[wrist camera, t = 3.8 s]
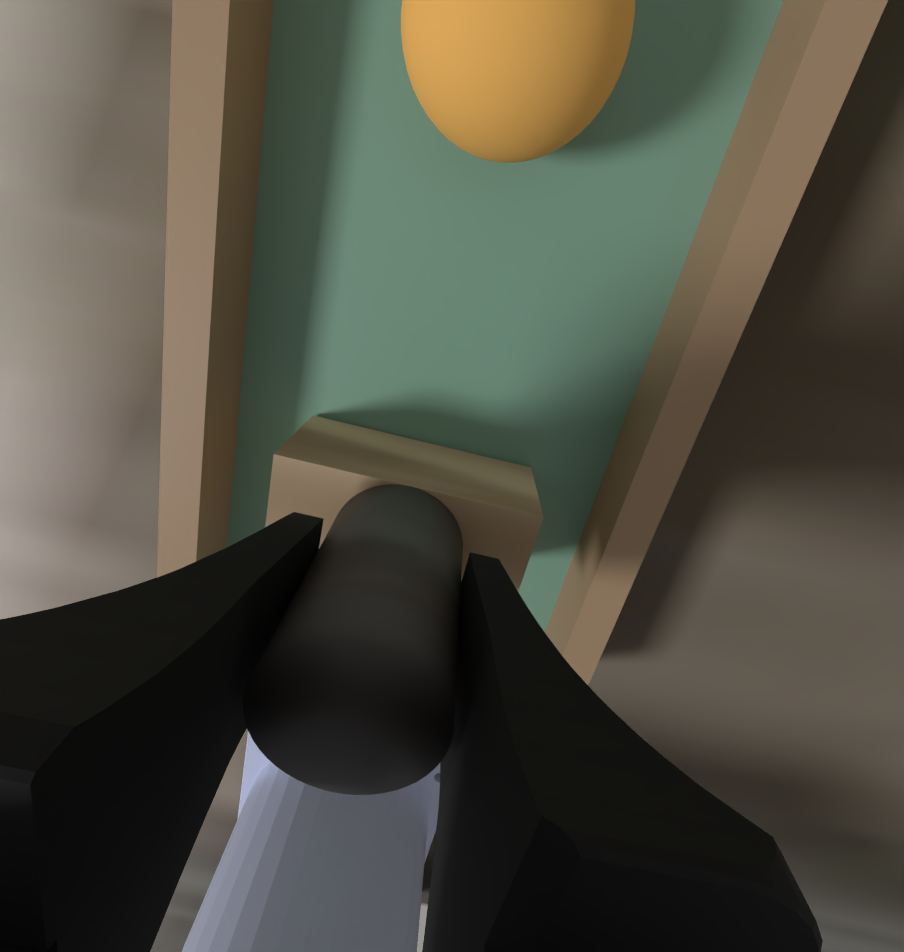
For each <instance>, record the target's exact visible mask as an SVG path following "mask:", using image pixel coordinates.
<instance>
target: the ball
mask: <svg viewBox="0 0 904 952" xmlns="http://www.w3.org/2000/svg"><path fill="white" fill-rule="evenodd" d="M634 15H635V0H402V7H401V37H402V47H403V54H404V58H405V63H406V68H407V72H408V75H409V78H410V81H411V84H412V87H413V90H414V92H415V94H416V96H417V98H418V100H419V103H420V104H421V106H422V108H423V109H424V111H425V112H426V114H427V116H428V117H429V119H430V120H431V121H432V122H433V124H434V125H435V126H436V127H437V129H438V130H439V131H440V132H441V133H442V134H443V135H444V136H445V137H446V138H447V139H448V140H449V141H451V142H452V143H453V144H455V145H456V146H458V147H459V148H460V149H462V150H464V151H466V152H468V153H470V154H471V155H473V156H476V157H479V158H482V159H485V160H489V161H495V162H503V163H515V162H524V161H529V160H533V159H537V158H540V157H542V156H545V155H547V154H549V153H552V152H554V151H555V150H557V149H559V148H560V147H562V146H564V145H565V144H567V143H568V142H569V141H571V140H572V139H573V138H575V137H576V136H577V135H578V134H580V133H581V132H582V131H583V130H584V129H585V128H586V127H587V126H588V125H589V124H590V123H591V122H592V120H593V119H594V118H595V116H596V115H597V114H598V113H599V111H600V110H601V109H602V107H603V106H604V104H605V102H606V101H607V99H608V97H609V96H610V94H611V92H612V91H613V89H614V87H615V84H616V82H617V80H618V78H619V76H620V74H621V71H622V69H623V66H624V63H625V60H626V57H627V54H628V49H629V45H630V41H631V36H632V30H633V23H634Z"/></svg>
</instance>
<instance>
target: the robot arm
mask: <svg viewBox="0 0 904 952" xmlns="http://www.w3.org/2000/svg"><path fill="white" fill-rule="evenodd" d="M323 520H324V519H323V518H319V517H315V516H310V515H306V514H302V513H297V512H293V513H291V514H289V515H287V516H285V517H283V518H281V519H279V520H278V521H276V522H274V523H272V524H270V525H269V526H267V527H265V528H263V529H261V530H259V531H258V532H256V533H254V534H252V535H250V536H248V537H246V538H244V539H242V540H240V541H238V542H237V543H235V544H233V545H231V546H229V547H227V548H225V549H222V550H220V551H218V552H216V553H214V554H211V555H209V556H207V557H205V558H203V559H200V560H198V561H196V562H194V563H192V564H189V565H187V566H185V567H183V568H180V569H178V570H175V571H173V572H170V573H168V574H165V575H163V576H160V577H157V578H154V579H152V580H149V581H146V582H143V583H140V584H137V585H134V586H131V587H128V588H125V589H122V590H119V591H116V592H112V593H108V594H105V595H101V596H97V597H94V598H90V599H86V600H83V601H79V602H76V603H72V604H68V605H65V606H61V607H57V608H53V609H49V610H44V611H40V612H35V613H31V614H26V615H21V616H17V617H12V618H7V619H1V620H0V952H150V950H151V948H152V945H153V943H154V940H155V938H156V935H157V933H158V931H159V928H160V926H161V923H162V921H163V918H164V916H165V913H166V911H167V908H168V906H169V903H170V901H171V898H172V896H173V894H174V891H175V889H176V886H177V884H178V881H179V879H180V876H181V874H182V872H183V869H184V867H185V864H186V862H187V860H188V857H189V855H190V853H191V850H192V848H193V845H194V843H195V841H196V838H197V836H198V833H199V831H200V829H201V826H202V824H203V822H204V819H205V817H206V814H207V812H208V810H209V808H210V805H211V803H212V801H213V798H214V796H215V794H216V791H217V789H218V787H219V785H220V782H221V780H222V778H223V775H224V773H225V771H226V768H227V766H228V764H229V762H230V760H231V758H232V756H233V754H234V752H235V750H236V748H237V746H238V744H239V742H240V740H241V738H242V736H243V734H244V732H245V730H246V729H247V726H246V723H245V720H244V713H243V697H244V692H245V688H246V686H247V683H248V681H249V678H250V676H251V674H252V673H253V671H254V669H255V667H256V665H257V663H258V661H259V660H260V658H261V656H262V654H263V652H264V650H265V648H266V647H267V645H268V643H269V641H270V639H271V637H272V635H273V634H274V632H275V630H276V628H277V626H278V624H279V622H280V621H281V619H282V617H283V615H284V613H285V611H286V609H287V608H288V606H289V604H290V602H291V600H292V598H293V596H294V595H295V593H296V591H297V589H298V587H299V585H300V583H301V582H302V580H303V578H304V576H305V574H306V572H307V570H308V569H309V567H310V565H311V563H312V561H313V559H314V557H315V556H316V554H317V552H318V550H319V545H320V538H321V532H322V526H323ZM435 832H436V837H435V846H434V856H433V865H432V874H431V883H430V892H429V900H428V909H427V918H426V927H425V935H424V943H423V951H422V952H821V947H822V938H821V935H820V931H819V928H818V925H817V922H816V920H815V918H814V916H813V914H812V912H811V910H810V908H809V906H808V904H807V902H806V900H805V898H804V896H803V894H802V892H801V890H800V888H799V886H798V884H797V882H796V880H795V878H794V876H793V875H792V873H791V871H790V869H789V867H788V865H787V863H786V861H785V859H784V857H783V855H782V853H781V851H780V849H779V847H778V846H777V844H776V842H775V840H774V838H773V837H772V836H770V835H769V834H768V833H766V832H765V831H763V830H762V829H760V828H759V827H758V826H756V825H755V824H753V823H752V822H750V821H749V820H748V819H746V818H745V817H743V816H742V815H741V814H739V813H738V812H736V811H735V810H733V809H732V808H731V807H729V806H728V805H726V804H725V803H723V802H722V801H721V800H719V799H718V798H716V797H715V796H713V795H712V794H711V793H709V792H708V791H706V790H705V789H704V788H702V787H701V786H700V785H698V784H697V783H696V782H694V781H693V780H692V779H691V778H689V777H688V776H687V775H686V774H684V773H683V772H682V771H681V770H679V769H678V768H677V767H676V766H674V765H673V764H672V763H671V762H669V761H668V760H667V759H666V758H664V757H663V756H662V755H661V754H660V753H658V752H657V751H656V750H655V749H654V748H653V747H651V746H650V745H649V744H648V743H647V742H646V741H644V740H643V739H642V738H641V737H640V736H639V735H638V734H637V733H635V732H634V731H633V730H632V729H631V728H630V727H629V726H628V725H627V724H626V723H625V722H624V721H623V720H622V719H621V718H619V717H618V716H617V715H616V714H615V713H614V712H613V711H612V710H611V709H610V708H609V707H608V706H607V705H606V704H605V703H604V702H603V701H602V700H601V699H600V698H599V697H598V696H597V695H596V694H595V693H594V692H593V690H592V689H591V688H590V687H589V686H588V685H587V684H586V683H585V682H584V680H583V679H582V678H581V677H580V676H579V675H578V674H577V673H576V672H575V671H574V669H573V668H572V667H571V666H570V665H569V663H568V662H567V661H566V660H565V659H564V657H563V656H562V655H561V653H560V652H559V651H558V650H557V648H556V647H555V646H554V644H553V643H552V642H551V640H550V639H549V638H548V636H547V635H546V634H545V632H544V631H543V629H542V628H541V626H540V625H539V624H538V622H537V621H536V619H535V618H534V616H533V615H532V613H531V612H530V610H529V609H528V607H527V605H526V604H525V602H524V601H523V599H522V597H521V596H520V594H519V592H518V591H517V589H516V587H515V586H514V584H513V582H512V580H511V579H510V577H509V575H508V574H507V572H506V570H505V568H504V567H503V565H502V563H501V562H500V560H499V559H497V558H493V557H489V556H484V555H480V554H476V553H471V552H470V554H469V557H468V561H467V564H466V568H465V571H464V574H463V578H462V581H461V594H460V614H459V634H458V653H457V673H456V693H455V713H454V732H453V737H452V741H451V744H450V747H449V749H448V752H447V753H446V755H445V756H444V758H443V760H442V761H441V762H440V763H439V765H438V766H437V767H436V768H435V769H434V770H433V771H432V772H430V773H429V774H428V775H427V776H425V777H424V778H422V779H421V780H419V781H417V782H416V783H413V784H411V785H409V786H407V787H404V788H401V789H399V790H396V791H391V792H387V793H382V794H373V795H349V794H341V793H334V792H330V791H326V790H322V789H318V788H316V787H313V786H310V785H307V784H305V783H303V782H301V781H299V780H296V779H295V778H293V777H291V776H289V775H288V774H286V773H285V772H283V771H282V770H280V769H279V768H278V767H276V766H275V765H274V764H273V763H272V762H271V761H270V760H268V759H267V758H266V757H265V755H264V754H263V753H262V752H261V751H260V750H259V748H258V747H257V746H256V744H255V743H254V741H253V740H252V738H251V735H250V733H249V731H248V737H247V745H246V754H245V762H244V770H243V778H242V787H241V795H240V803H239V811H238V820H237V823H236V825H235V827H234V830H233V832H232V834H231V837H230V839H229V841H228V844H227V846H226V848H225V851H224V853H223V856H222V858H221V860H220V863H219V865H218V867H217V870H216V872H215V874H214V877H213V879H212V881H211V884H210V886H209V889H208V891H207V893H206V896H205V898H204V900H203V903H202V905H201V907H200V910H199V912H198V914H197V917H196V919H195V921H194V924H193V926H192V929H191V931H190V933H189V936H188V938H187V940H186V943H185V945H184V947H183V950H182V952H417V942H418V930H419V918H420V907H421V896H422V885H423V873H424V864H425V861H426V858H427V855H428V852H429V849H430V846H431V843H432V840H433V837H434V834H435Z"/></svg>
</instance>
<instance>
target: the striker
mask: <svg viewBox="0 0 904 952" xmlns="http://www.w3.org/2000/svg"><path fill="white" fill-rule="evenodd" d="M293 512H297V513H302V514H306V515H310V516H315V517H319V518H323V519H324V520H323V526H322V532H321V538H320V545H319V550H318V552H317V554H316V556H315V557H314V559H313V561H312V563H311V565H310V567H309V569H308V570H307V572H306V574H305V576H304V578H303V580H302V582H301V583H300V585H299V587H298V589H297V591H296V593H295V595H294V596H293V598H292V600H291V602H290V604H289V606H288V608H287V609H286V611H285V613H284V615H283V617H282V619H281V621H280V622H279V624H278V626H277V628H276V630H275V632H274V634H273V635H272V637H271V639H270V641H269V643H268V645H267V647H266V648H265V650H264V652H263V654H262V656H261V658H260V660H259V661H258V663H257V665H256V667H255V669H254V671H253V673H252V674H251V676H250V678H249V681H248V683H247V686H246V688H245V692H244V697H243V713H244V720H245V723H246V726H247V729H248V731H249V733H250V735H251V738H252V740H253V741H254V743H255V744H256V746H257V747H258V748H259V750H260V751H261V752H262V753H263V754H264V755H265V757H266V758H267V759H268V760H270V761H271V762H272V763H273V764H274V765H275V766H276V767H278V768H279V769H280V770H282V771H283V772H285V773H286V774H288V775H289V776H291V777H293V778H295V779H296V780H299V781H301V782H303V783H305V784H307V785H310V786H313V787H316V788H318V789H322V790H326V791H330V792H334V793H341V794H349V795H373V794H382V793H387V792H391V791H396V790H399V789H401V788H404V787H407V786H409V785H411V784H413V783H416V782H417V781H419V780H421V779H422V778H424V777H425V776H427V775H428V774H429V773H430V772H432V771H433V770H434V769H435V768H436V767H437V766H438V765H439V763H440V762H441V761H442V760H443V758H444V756H445V755H446V753H447V752H448V749H449V747H450V744H451V741H452V737H453V732H454V713H455V693H456V673H457V653H458V634H459V614H460V594H461V581H462V578H463V574H464V571H465V568H466V564H467V561H468V557H469V554H470V552H471V553H476V554H480V555H484V556H489V557H493V558H497V559H499V560H500V562H501V563H502V565H503V567H504V568H505V570H506V572H507V574H508V575H509V577H510V579H511V580H512V582H513V584H514V586H515V587H516V589H517V591H519V588H520V585H521V583H522V580H523V577H524V574H525V571H526V568H527V565H528V562H529V559H530V556H531V553H532V550H533V547H534V544H535V542H536V539H537V536H538V533H539V530H540V527H541V524H542V521H543V518H544V517H543V513H542V509H541V505H540V501H539V497H538V493H537V489H536V485H535V481H534V477H533V473H532V469H531V467H527V466H523V465H519V464H514V463H510V462H506V461H502V460H498V459H494V458H489V457H485V456H481V455H477V454H473V453H468V452H464V451H460V450H456V449H452V448H448V447H443V446H439V445H435V444H431V443H427V442H422V441H418V440H414V439H410V438H406V437H402V436H397V435H393V434H389V433H385V432H381V431H376V430H372V429H368V428H364V427H360V426H356V425H351V424H347V423H343V422H339V421H335V420H330V419H326V418H322V417H318V416H314V415H313V416H312V417H311V418H310V419H309V420H308V421H307V422H306V423H305V424H304V425H303V426H302V427H301V428H300V429H299V430H298V431H297V432H296V433H295V434H294V435H293V436H292V437H291V438H290V439H289V440H287V441H286V442H285V443H284V444H283V445H282V446H281V447H280V448H279V449H278V450H277V451H276V452H275V453H274V455H273V464H272V472H271V481H270V490H269V498H268V507H267V516H266V524H265V527H267V526H269V525H270V524H272V523H274V522H276V521H278V520H279V519H281V518H283V517H285V516H287V515H289V514H291V513H293Z"/></svg>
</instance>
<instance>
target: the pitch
mask: <svg viewBox="0 0 904 952" xmlns="http://www.w3.org/2000/svg"><path fill="white" fill-rule="evenodd" d="M887 1H888V0H635V15H634V23H633V30H632V36H631V41H630V45H629V49H628V54H627V57H626V60H625V63H624V66H623V69H622V71H621V74H620V76H619V78H618V80H617V82H616V84H615V87H614V89H613V91H612V92H611V94H610V96H609V97H608V99H607V101H606V102H605V104H604V106H603V107H602V109H601V110H600V111H599V113H598V114H597V115H596V116H595V118H594V119H593V120H592V122H591V123H590V124H589V125H588V126H587V127H586V128H585V129H584V130H583V131H582V132H581V133H580V134H578V135H577V136H576V137H575V138H573V139H572V140H571V141H569V142H568V143H567V144H565V145H564V146H562V147H560V148H559V149H557V150H555V151H554V152H552V153H549V154H547V155H545V156H542V157H540V158H537V159H533V160H529V161H524V162H515V163H503V162H495V161H489V160H485V159H482V158H479V157H476V156H473V155H471V154H470V153H468V152H466V151H464V150H462V149H460V148H459V147H458V146H456V145H455V144H453V143H452V142H451V141H449V140H448V139H447V138H446V137H445V136H444V135H443V134H442V133H441V132H440V131H439V130H438V129H437V127H436V126H435V125H434V124H433V122H432V121H431V120H430V119H429V117H428V116H427V114H426V112H425V111H424V109H423V108H422V106H421V104H420V103H419V100H418V98H417V96H416V94H415V92H414V90H413V87H412V84H411V81H410V78H409V75H408V72H407V68H406V63H405V58H404V54H403V47H402V37H401V7H402V0H173V6H172V43H171V79H170V116H169V153H168V190H167V227H166V264H165V300H164V337H163V374H162V411H161V448H160V485H159V521H158V558H157V577H160V576H163V575H165V574H168V573H170V572H173V571H175V570H178V569H180V568H183V567H185V566H187V565H189V564H192V563H194V562H196V561H198V560H200V559H203V558H205V557H207V556H209V555H211V554H214V553H216V552H218V551H220V550H222V549H225V548H227V547H229V546H231V545H233V544H235V543H237V542H238V541H240V540H242V539H244V538H246V537H248V536H250V535H252V534H254V533H256V532H258V531H259V530H261V529H263V528H265V524H266V516H267V507H268V498H269V490H270V481H271V472H272V464H273V455H274V453H275V452H276V451H277V450H278V449H279V448H280V447H281V446H282V445H283V444H284V443H285V442H286V441H287V440H289V439H290V438H291V437H292V436H293V435H294V434H295V433H296V432H297V431H298V430H299V429H300V428H301V427H302V426H303V425H304V424H305V423H306V422H307V421H308V420H309V419H310V418H311V417H312V416H313V415H314V416H318V417H322V418H326V419H330V420H335V421H339V422H343V423H347V424H351V425H356V426H360V427H364V428H368V429H372V430H376V431H381V432H385V433H389V434H393V435H397V436H402V437H406V438H410V439H414V440H418V441H422V442H427V443H431V444H435V445H439V446H443V447H448V448H452V449H456V450H460V451H464V452H468V453H473V454H477V455H481V456H485V457H489V458H494V459H498V460H502V461H506V462H510V463H514V464H519V465H523V466H527V467H531V469H532V473H533V477H534V481H535V485H536V489H537V493H538V497H539V501H540V505H541V509H542V513H543V517H544V518H543V521H542V524H541V527H540V530H539V533H538V536H537V539H536V542H535V544H534V547H533V550H532V553H531V556H530V559H529V562H528V565H527V568H526V571H525V574H524V577H523V580H522V583H521V585H520V588H519V591H518V592H519V594H520V596H521V597H522V599H523V601H524V602H525V604H526V605H527V607H528V609H529V610H530V612H531V613H532V615H533V616H534V618H535V619H536V621H537V622H538V624H539V625H540V626H541V628H542V629H543V631H544V632H545V634H546V635H547V636H548V638H549V639H550V640H551V642H552V643H553V644H554V646H555V647H556V648H557V650H558V651H559V652H560V653H561V655H562V656H563V657H564V659H565V660H566V661H567V662H568V663H569V665H570V666H571V667H572V668H573V669H574V671H575V672H576V673H577V674H578V675H579V676H580V677H581V678H582V679H583V680H584V682H585V683H586V684H587V685H589V683H590V680H591V678H592V676H593V674H594V671H595V669H596V667H597V664H598V662H599V660H600V658H601V655H602V653H603V651H604V648H605V646H606V644H607V642H608V639H609V637H610V635H611V632H612V630H613V628H614V626H615V623H616V621H617V619H618V616H619V614H620V612H621V610H622V607H623V605H624V603H625V600H626V598H627V596H628V593H629V591H630V589H631V587H632V584H633V582H634V580H635V577H636V575H637V573H638V571H639V568H640V566H641V564H642V562H643V559H644V557H645V555H646V552H647V550H648V548H649V545H650V543H651V541H652V539H653V536H654V534H655V532H656V529H657V527H658V525H659V523H660V520H661V518H662V516H663V513H664V511H665V509H666V507H667V504H668V502H669V500H670V497H671V495H672V493H673V491H674V488H675V486H676V484H677V481H678V479H679V477H680V475H681V472H682V470H683V468H684V465H685V463H686V461H687V459H688V456H689V454H690V452H691V449H692V447H693V445H694V443H695V440H696V438H697V436H698V433H699V431H700V429H701V427H702V424H703V422H704V420H705V417H706V415H707V413H708V411H709V408H710V406H711V404H712V401H713V399H714V397H715V395H716V392H717V390H718V388H719V385H720V383H721V381H722V379H723V376H724V374H725V372H726V369H727V367H728V365H729V363H730V360H731V358H732V356H733V353H734V351H735V349H736V347H737V344H738V342H739V340H740V337H741V335H742V333H743V331H744V328H745V326H746V324H747V321H748V319H749V317H750V315H751V312H752V310H753V308H754V305H755V303H756V301H757V299H758V296H759V294H760V292H761V289H762V287H763V285H764V283H765V280H766V278H767V276H768V273H769V271H770V269H771V267H772V264H773V262H774V260H775V257H776V255H777V253H778V251H779V248H780V246H781V244H782V241H783V239H784V237H785V235H786V232H787V230H788V228H789V225H790V223H791V221H792V219H793V216H794V214H795V212H796V209H797V207H798V205H799V203H800V200H801V198H802V196H803V193H804V191H805V189H806V187H807V184H808V182H809V180H810V177H811V175H812V173H813V171H814V168H815V166H816V164H817V161H818V159H819V157H820V155H821V152H822V150H823V148H824V145H825V143H826V141H827V139H828V136H829V134H830V132H831V129H832V127H833V125H834V123H835V120H836V118H837V116H838V113H839V111H840V109H841V107H842V104H843V102H844V100H845V97H846V95H847V93H848V91H849V88H850V86H851V84H852V81H853V79H854V77H855V75H856V72H857V70H858V68H859V65H860V63H861V61H862V59H863V56H864V54H865V52H866V49H867V47H868V45H869V43H870V40H871V38H872V36H873V33H874V31H875V29H876V27H877V24H878V22H879V20H880V17H881V15H882V13H883V11H884V8H885V6H886V4H887Z"/></svg>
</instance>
